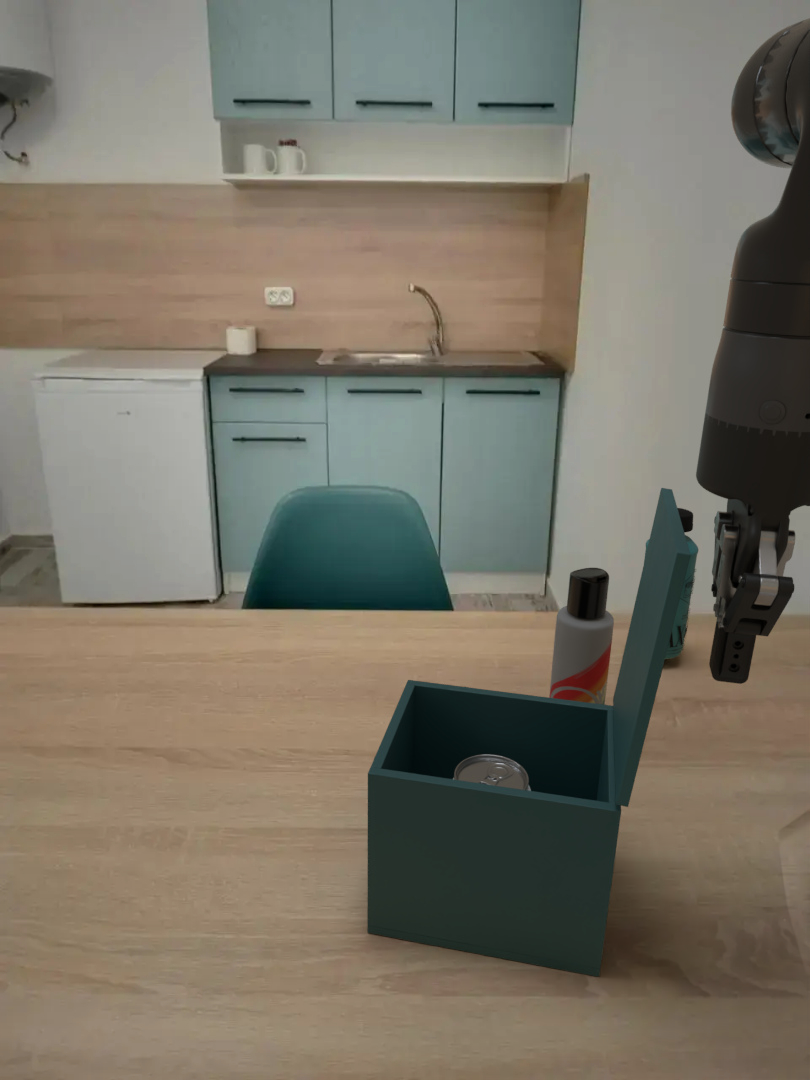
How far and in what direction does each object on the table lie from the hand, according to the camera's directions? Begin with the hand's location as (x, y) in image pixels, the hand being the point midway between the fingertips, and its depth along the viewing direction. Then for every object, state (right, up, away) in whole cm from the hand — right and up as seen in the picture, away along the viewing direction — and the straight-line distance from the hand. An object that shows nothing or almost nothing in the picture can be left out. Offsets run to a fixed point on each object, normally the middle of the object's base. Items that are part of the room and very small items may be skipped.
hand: (727, 676), depth 54 cm
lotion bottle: (-3, -13, +35) cm, 37 cm away
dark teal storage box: (-14, -20, +15) cm, 29 cm away
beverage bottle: (+11, -7, +53) cm, 55 cm away
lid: (-4, +2, +5) cm, 7 cm away
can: (-15, -20, +13) cm, 28 cm away
